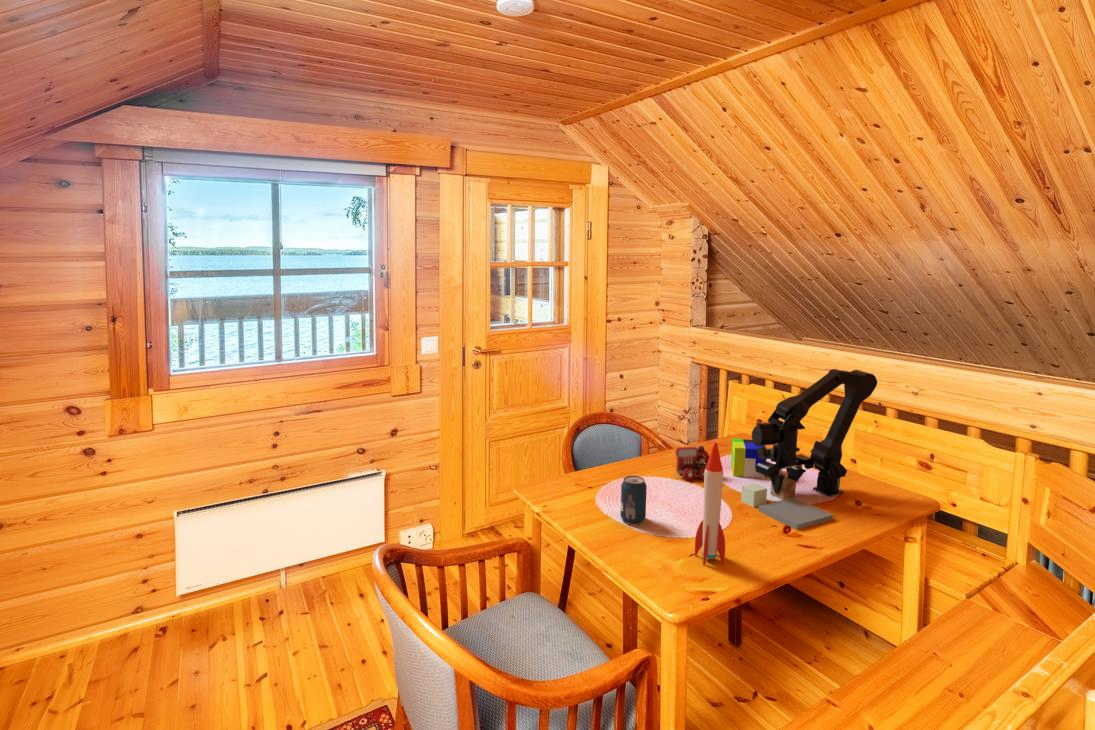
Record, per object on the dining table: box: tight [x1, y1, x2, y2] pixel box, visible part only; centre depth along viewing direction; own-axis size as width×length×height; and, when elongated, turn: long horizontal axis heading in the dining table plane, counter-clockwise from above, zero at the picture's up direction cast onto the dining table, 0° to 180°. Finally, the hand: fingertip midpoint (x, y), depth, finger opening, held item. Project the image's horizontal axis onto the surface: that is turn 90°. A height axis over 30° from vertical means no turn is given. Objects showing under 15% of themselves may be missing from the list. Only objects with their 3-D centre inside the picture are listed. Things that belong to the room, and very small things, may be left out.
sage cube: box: [740, 482, 768, 508], centre depth 189 cm, size 5×5×5 cm
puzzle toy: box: [730, 438, 767, 479], centre depth 214 cm, size 10×10×10 cm
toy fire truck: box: [675, 445, 710, 482], centre depth 210 cm, size 7×12×10 cm, turn 100°
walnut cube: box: [770, 476, 797, 500], centre depth 194 cm, size 5×5×5 cm
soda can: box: [620, 475, 647, 525], centre depth 176 cm, size 7×7×12 cm
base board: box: [758, 497, 834, 531], centre depth 181 cm, size 14×14×2 cm
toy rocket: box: [694, 441, 726, 566], centre depth 153 cm, size 6×6×30 cm
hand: (783, 492), depth 195 cm, fingers closed on walnut cube, 5 cm apart
